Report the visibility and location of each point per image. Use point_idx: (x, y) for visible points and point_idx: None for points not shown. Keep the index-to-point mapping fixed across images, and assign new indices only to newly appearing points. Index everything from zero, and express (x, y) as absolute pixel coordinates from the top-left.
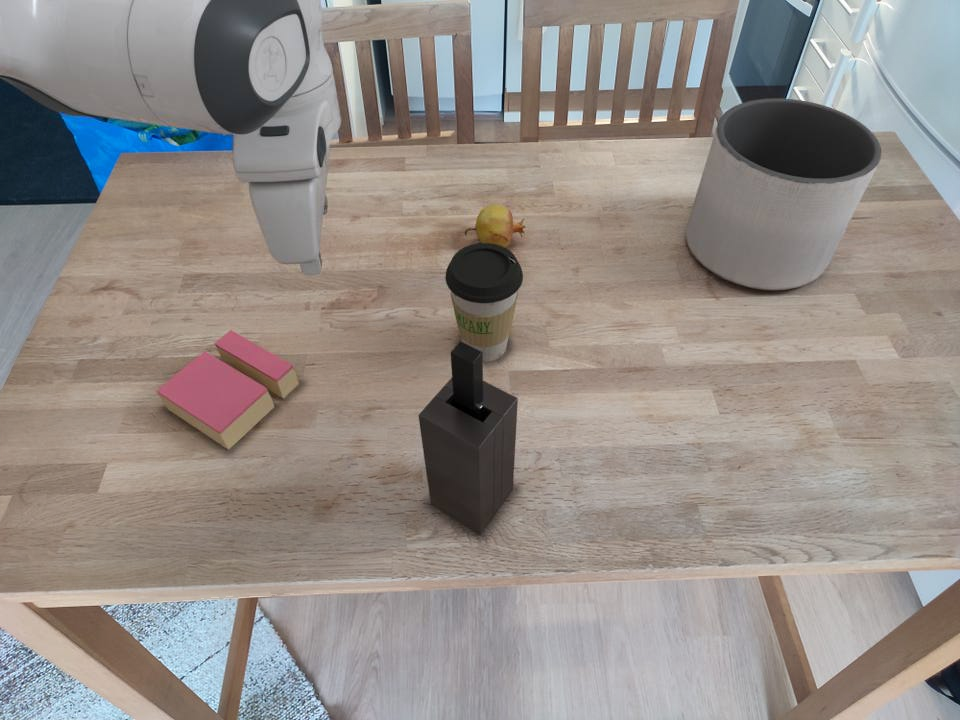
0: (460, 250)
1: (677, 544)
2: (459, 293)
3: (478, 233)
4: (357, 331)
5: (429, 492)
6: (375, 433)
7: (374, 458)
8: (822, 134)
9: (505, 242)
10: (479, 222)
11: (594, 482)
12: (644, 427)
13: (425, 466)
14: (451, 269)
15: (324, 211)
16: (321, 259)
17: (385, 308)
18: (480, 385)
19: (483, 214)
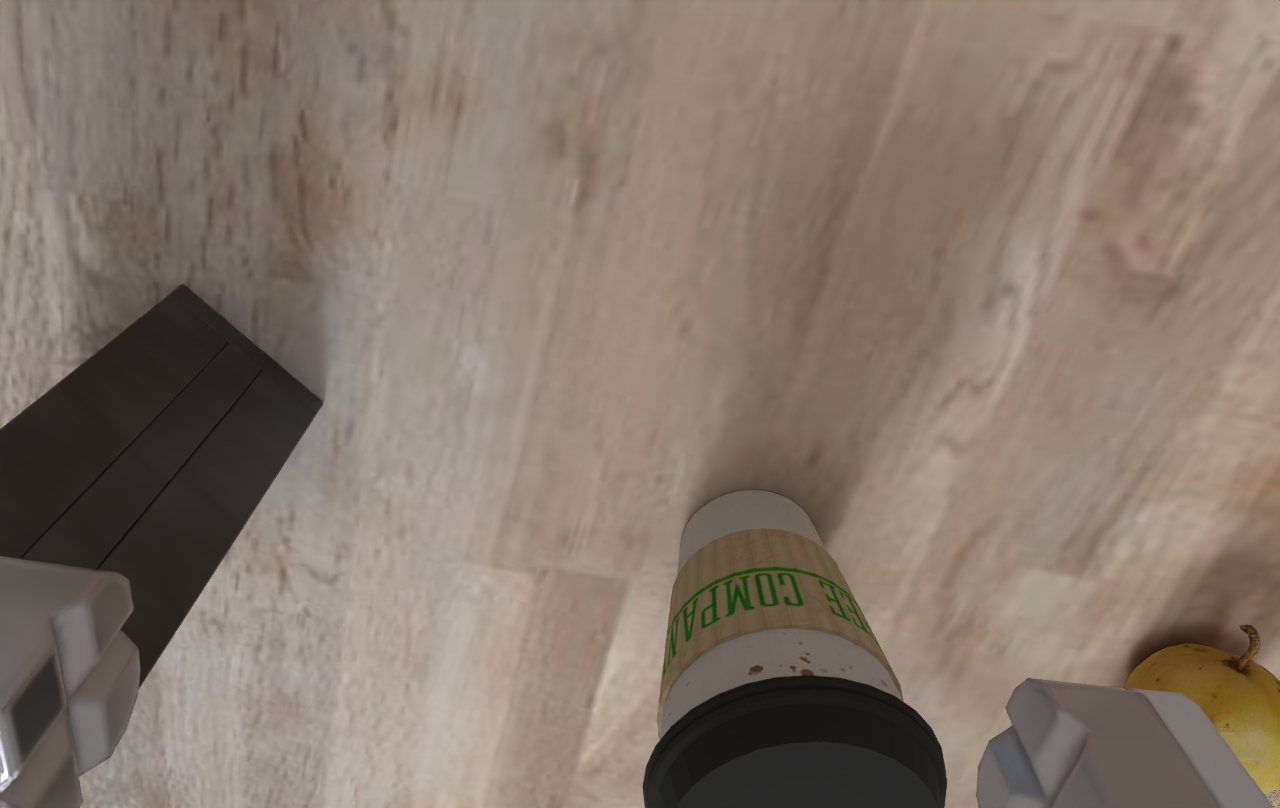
0: (924, 789)
1: None
2: (713, 714)
3: (1207, 673)
4: (978, 168)
5: (143, 315)
6: (478, 161)
7: (375, 142)
8: None
9: None
10: (1239, 707)
11: (232, 664)
12: (376, 792)
13: (60, 382)
14: (821, 744)
15: (989, 801)
16: (101, 758)
17: (1049, 288)
18: None
19: (1261, 737)
